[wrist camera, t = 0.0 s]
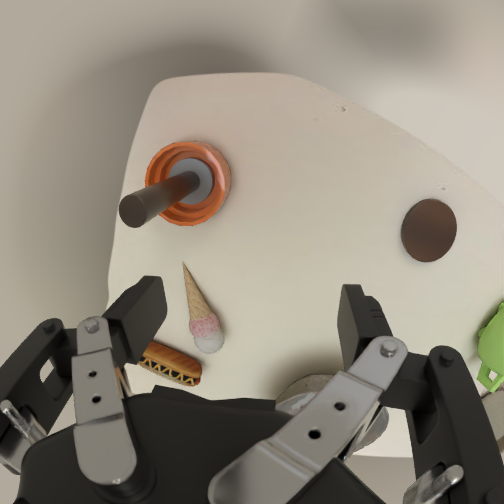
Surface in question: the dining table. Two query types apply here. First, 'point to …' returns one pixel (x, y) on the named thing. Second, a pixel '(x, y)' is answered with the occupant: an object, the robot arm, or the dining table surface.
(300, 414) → the robot arm
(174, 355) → the hot dog
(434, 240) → the disc
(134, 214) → the masher
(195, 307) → the ice cream cone
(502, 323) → the teapot
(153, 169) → the orange bowl
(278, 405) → the ceramic bowl
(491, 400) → the planter
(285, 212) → the dining table surface
